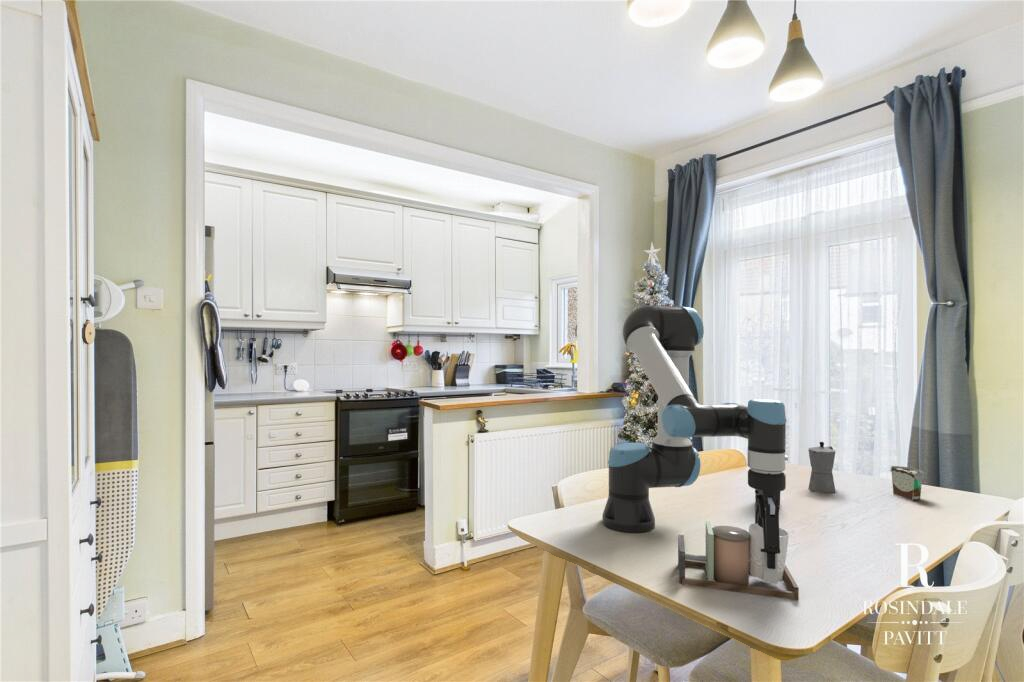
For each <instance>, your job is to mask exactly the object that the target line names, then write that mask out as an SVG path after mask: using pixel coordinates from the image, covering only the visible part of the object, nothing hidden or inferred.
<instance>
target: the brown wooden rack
mask: <svg viewBox="0 0 1024 682" xmlns="http://www.w3.org/2000/svg"><path fill="white" fill-rule="evenodd" d="M684 537H685V536H684V534H678V536H677V538H678V539H677V541H678V542H677V543H678V544H677V550H678V551H677V552H678V553H677V555H678V556H677V565H678V567H677V568H678V583H679V584H682V585H684V586H693V587H700V588H705V589H706V588H707V589H713V590H714V589H715V590H722V591H730V592H736V593H746V594H752V595H758V596H759V595H760V596H766V597H775V598H782V599H790V600H798V601H799V588H800V587H799V586H798V584H797V582H796V581H795V579H794V578H793V575H792V573H791V572H790V570H789V569H788V567H787V565H786V564H785V567H784V572H783V579H782V580H783V581H784V582H785V583H784V584H785V585H786V587H787V589H788V590H781V589H776V588H775V589H774V588H769V587H768V588H767V587H760V586H753V585H748V586H745V585H738V584H730V583H722V582H715V581H708V579H707V580H706V579H698V578H689V577H686V566H687V567H694V568H703V569H706V568H705V565H706V562H704V561H696V560H687V559H685V554H686V546H685V544H686V543H685V538H684ZM749 574H750V572H749Z"/></svg>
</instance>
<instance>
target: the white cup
mask: <svg viewBox="0 0 1024 682" xmlns="http://www.w3.org/2000/svg"><path fill="white" fill-rule="evenodd" d="M748 532H749V534H750V539H749V572H750V573H749V575H750V574H751V575H752V576H753V577H755V578H758V579H760V580H762V581H763V552H761V549H764V534H763V528H762V527H760V526H759V525H758V523H755V522H754V523H750V524H749V525H748ZM789 535H790V534H789V532H788V531H787V530H785V529H784V528H780V527H779V541H780V554H778V582H781V581H782V580H784V579H783V572H784V567H785V565H786V560H787V552H788V544H789ZM770 547H771V546H770Z"/></svg>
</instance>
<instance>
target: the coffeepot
mask: <svg viewBox="0 0 1024 682" xmlns="http://www.w3.org/2000/svg"><path fill="white" fill-rule="evenodd" d="M819 445H820V446H814V447H813V446H812V447H808V450H807V451H808V457H809V461H810V462H809V463H810V467H811V473H810V478H809V482H808V483H809V484H808V490H810V491H812V492H817V493H824V494H834V493H836V486H835V481H834V473H833V469H834V465H835V464H834V463H835V457H836V452H837V451H836V450H835V449H834V448H833V446H831V445H830V446H825V442H824V441H819Z"/></svg>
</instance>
